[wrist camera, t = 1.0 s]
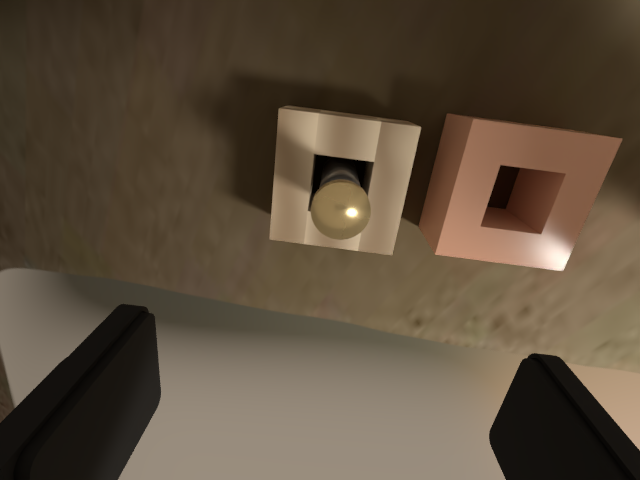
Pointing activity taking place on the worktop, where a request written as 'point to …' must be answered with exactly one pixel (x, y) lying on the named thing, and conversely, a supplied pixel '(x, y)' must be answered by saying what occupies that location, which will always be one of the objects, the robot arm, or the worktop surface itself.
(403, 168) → the mount
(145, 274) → the worktop surface
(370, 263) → the worktop surface
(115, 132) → the worktop surface
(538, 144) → the dock
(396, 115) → the worktop surface
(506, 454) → the robot arm
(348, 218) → the pin
